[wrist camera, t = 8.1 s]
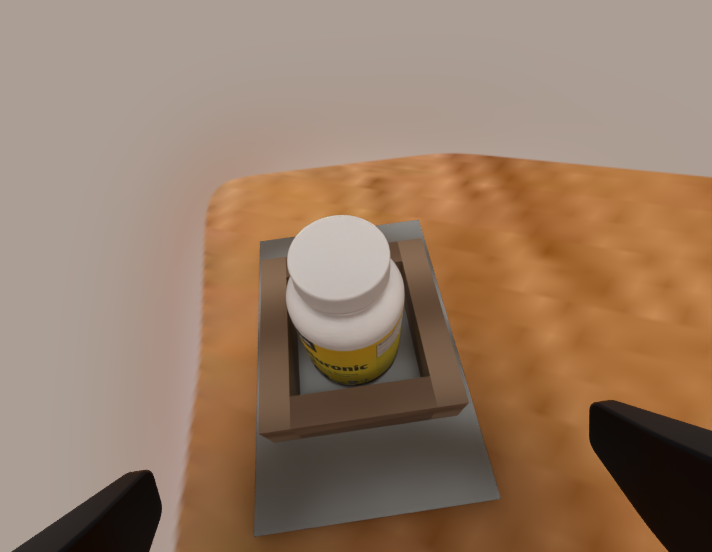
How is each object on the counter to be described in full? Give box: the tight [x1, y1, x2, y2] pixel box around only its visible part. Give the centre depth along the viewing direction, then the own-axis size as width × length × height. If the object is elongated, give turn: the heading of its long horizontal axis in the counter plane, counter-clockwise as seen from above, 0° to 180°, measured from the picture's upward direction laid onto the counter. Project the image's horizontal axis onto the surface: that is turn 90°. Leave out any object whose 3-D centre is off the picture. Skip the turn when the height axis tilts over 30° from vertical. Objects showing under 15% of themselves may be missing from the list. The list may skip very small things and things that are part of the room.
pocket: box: [254, 220, 501, 537], centre depth 21 cm, size 18×12×4 cm, turn 7°
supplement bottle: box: [286, 215, 404, 387], centre depth 18 cm, size 5×5×10 cm
